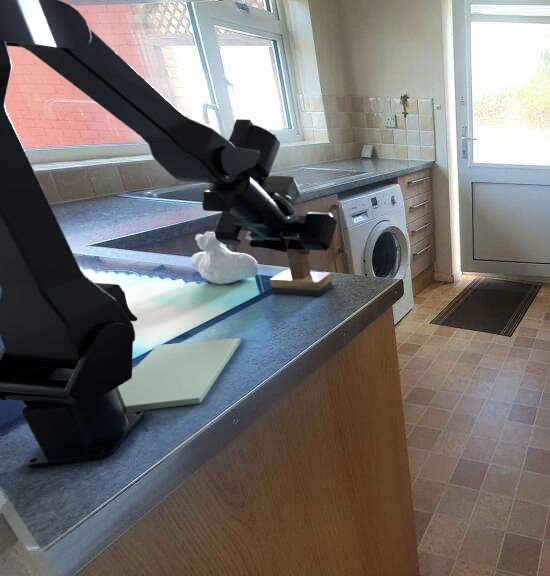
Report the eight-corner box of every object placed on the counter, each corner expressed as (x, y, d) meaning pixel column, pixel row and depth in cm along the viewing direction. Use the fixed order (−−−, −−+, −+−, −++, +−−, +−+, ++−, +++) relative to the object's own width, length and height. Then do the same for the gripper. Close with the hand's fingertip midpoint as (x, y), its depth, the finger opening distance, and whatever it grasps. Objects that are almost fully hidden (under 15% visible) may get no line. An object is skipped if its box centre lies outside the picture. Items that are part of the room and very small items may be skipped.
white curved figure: (197, 290, 80) (157, 259, 70) (212, 258, 84) (175, 224, 74) (260, 292, 81) (228, 261, 71) (271, 260, 84) (242, 226, 75)
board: (200, 403, 47) (198, 397, 46) (93, 416, 44) (90, 410, 44) (240, 342, 59) (239, 337, 59) (159, 349, 57) (157, 344, 56)
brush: (320, 296, 75) (309, 226, 70) (272, 293, 75) (258, 224, 70) (333, 286, 79) (323, 220, 74) (288, 283, 80) (276, 217, 75)
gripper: (323, 163, 64) (360, 217, 78) (209, 157, 65) (266, 212, 79) (304, 224, 60) (346, 269, 74) (182, 217, 61) (248, 263, 75)
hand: (301, 251), depth 76 cm, fingers closed on brush, 2 cm apart
